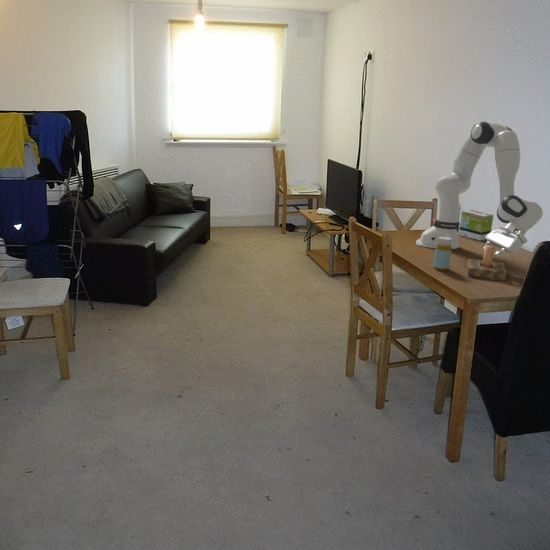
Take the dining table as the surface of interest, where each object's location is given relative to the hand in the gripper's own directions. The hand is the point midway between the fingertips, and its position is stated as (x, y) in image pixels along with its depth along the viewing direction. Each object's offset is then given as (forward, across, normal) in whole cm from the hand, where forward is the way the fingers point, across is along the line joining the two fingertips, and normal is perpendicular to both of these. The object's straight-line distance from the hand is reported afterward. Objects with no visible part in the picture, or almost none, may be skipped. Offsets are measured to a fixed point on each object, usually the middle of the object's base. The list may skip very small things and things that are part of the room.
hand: (490, 252), depth 258 cm
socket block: (+8, 0, +6) cm, 10 cm away
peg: (+8, 0, +6) cm, 10 cm away
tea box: (-16, -65, +31) cm, 73 cm away
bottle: (+20, -9, -6) cm, 23 cm away
